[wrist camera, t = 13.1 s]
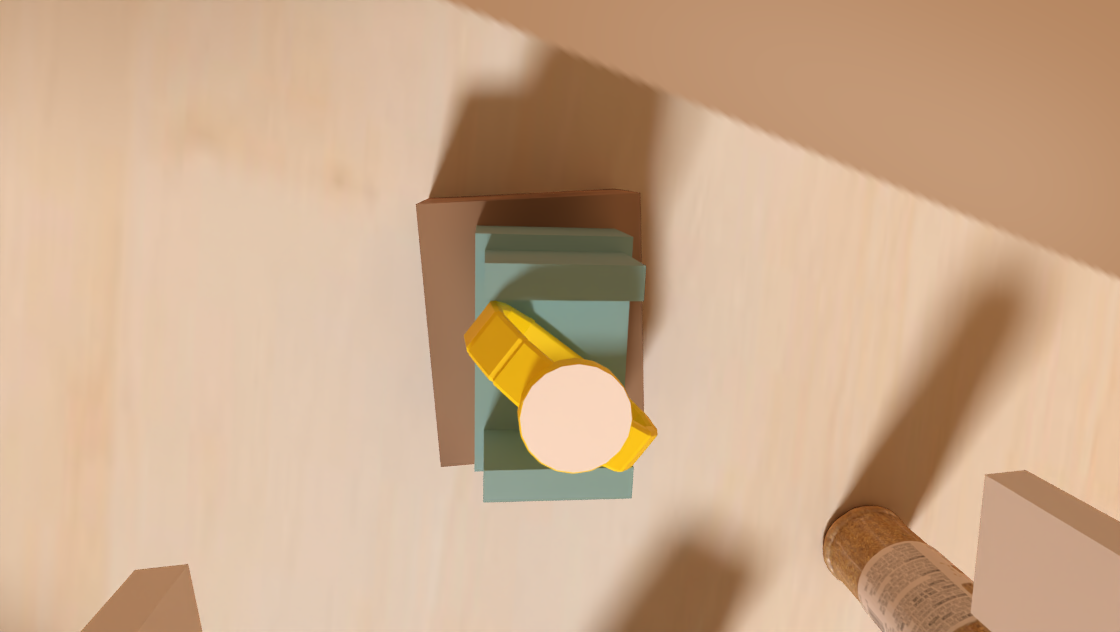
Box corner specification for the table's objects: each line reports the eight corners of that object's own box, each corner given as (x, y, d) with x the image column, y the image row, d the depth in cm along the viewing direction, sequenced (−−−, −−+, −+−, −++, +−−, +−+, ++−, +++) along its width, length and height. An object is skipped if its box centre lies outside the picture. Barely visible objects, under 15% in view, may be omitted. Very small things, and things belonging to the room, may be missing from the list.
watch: (454, 339, 21) (433, 387, 15) (507, 272, 20) (506, 293, 15) (597, 445, 22) (630, 530, 16) (649, 382, 21) (701, 444, 16)
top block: (475, 435, 24) (472, 518, 19) (476, 225, 23) (473, 244, 17) (604, 433, 25) (640, 513, 19) (614, 228, 23) (657, 247, 17)
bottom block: (448, 418, 29) (440, 466, 25) (428, 198, 27) (415, 204, 22) (619, 403, 30) (644, 448, 25) (614, 189, 28) (640, 192, 23)
